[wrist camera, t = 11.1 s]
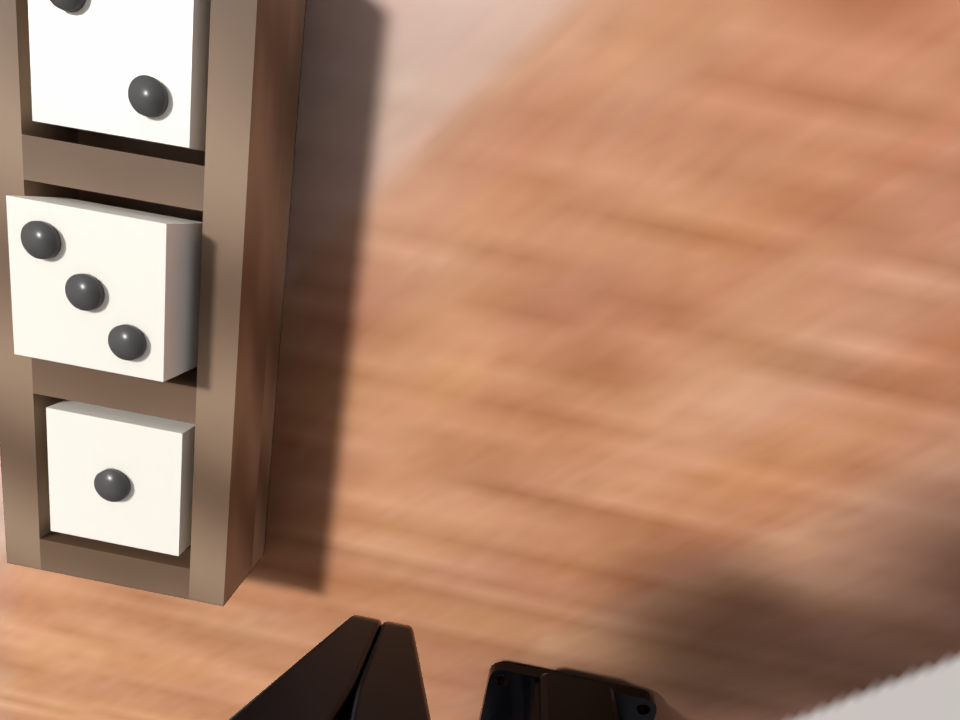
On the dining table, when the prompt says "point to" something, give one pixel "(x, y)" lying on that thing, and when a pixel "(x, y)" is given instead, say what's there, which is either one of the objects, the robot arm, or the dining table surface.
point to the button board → (223, 299)
